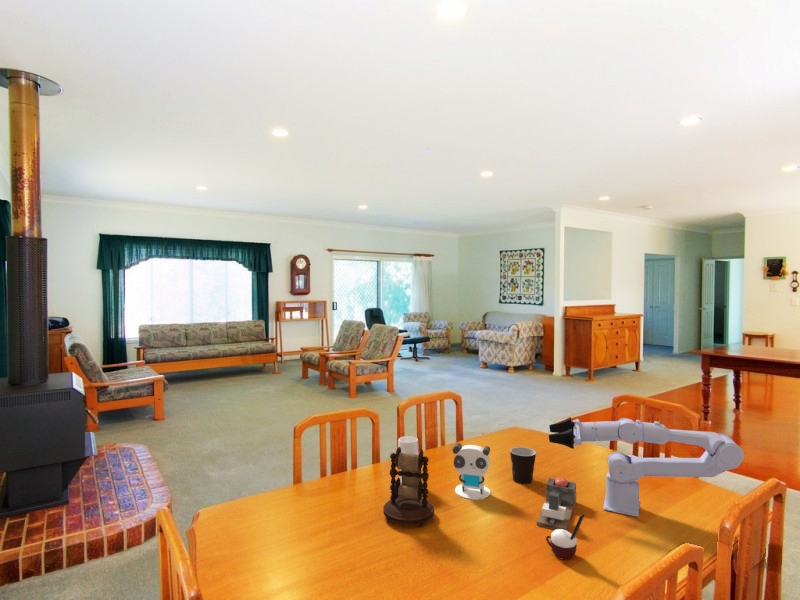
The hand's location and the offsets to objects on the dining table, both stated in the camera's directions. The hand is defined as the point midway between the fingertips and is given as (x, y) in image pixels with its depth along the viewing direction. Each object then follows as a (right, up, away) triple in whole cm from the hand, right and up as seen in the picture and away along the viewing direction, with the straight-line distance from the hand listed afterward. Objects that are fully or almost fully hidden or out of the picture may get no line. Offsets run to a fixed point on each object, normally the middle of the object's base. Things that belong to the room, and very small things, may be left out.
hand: (549, 433), depth 151 cm
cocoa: (-6, -22, -31) cm, 39 cm away
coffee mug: (-4, -20, +15) cm, 25 cm away
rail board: (-1, -21, -9) cm, 23 cm away
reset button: (+3, -15, -3) cm, 15 cm away
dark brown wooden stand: (-45, -21, -12) cm, 51 cm away
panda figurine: (-24, -20, +5) cm, 32 cm away
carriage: (-3, -19, -15) cm, 24 cm away
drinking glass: (-44, -20, +10) cm, 50 cm away
